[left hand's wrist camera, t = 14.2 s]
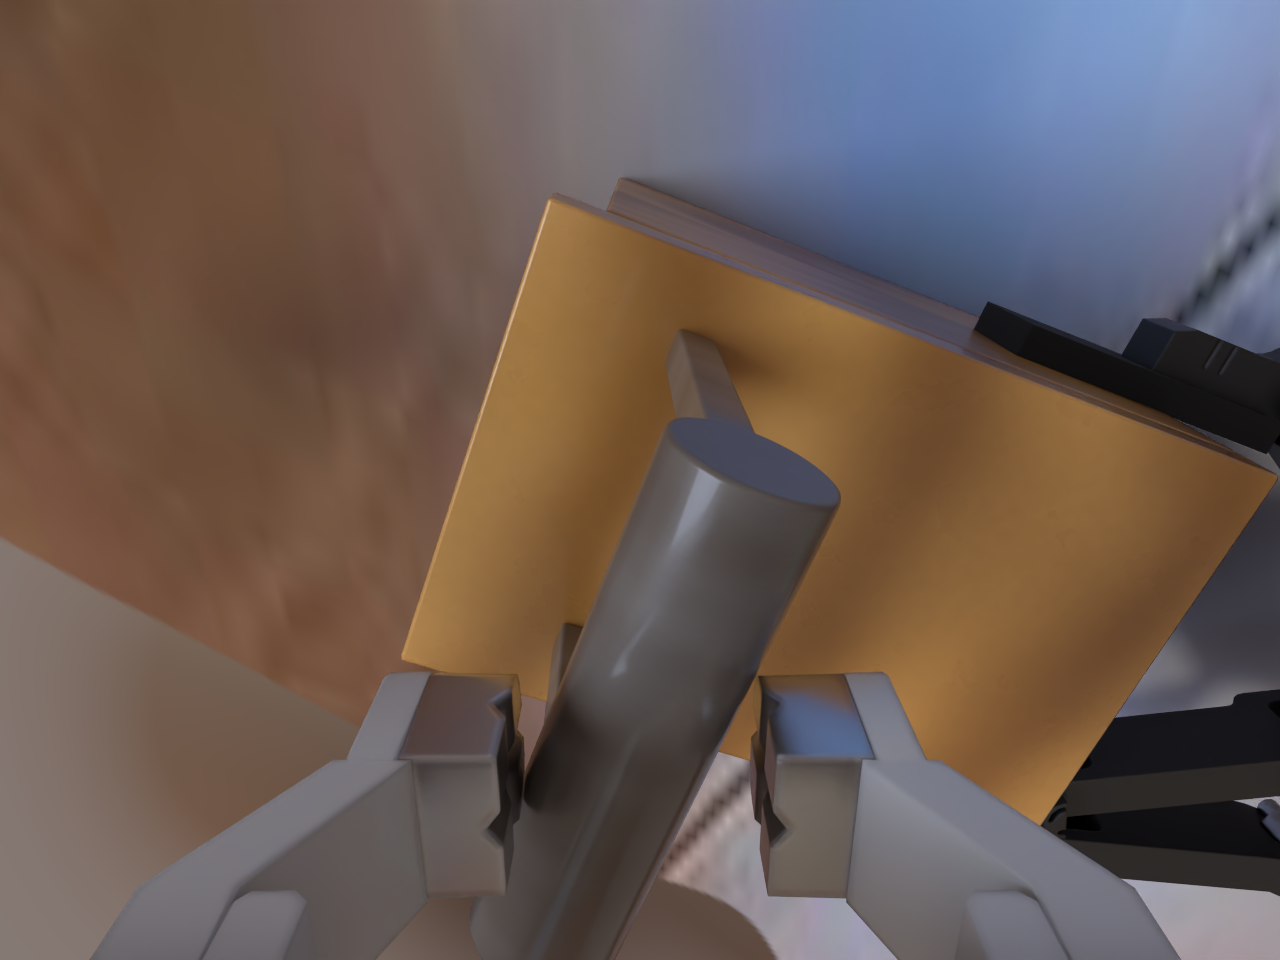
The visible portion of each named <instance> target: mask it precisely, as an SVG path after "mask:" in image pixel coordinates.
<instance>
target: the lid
mask: <svg viewBox="0 0 1280 960" xmlns="http://www.w3.org/2000/svg"><path fill="white" fill-rule="evenodd" d="M1277 480H1278V476H1277V475H1276V474H1275V473H1273V472H1271V471H1269V470H1267V469H1265V468H1264V467H1262V466H1260V465H1258V464H1256V463H1254V462H1253V461H1251V460H1249V459H1247V458H1245V457H1243V456H1241V455H1240V454H1238V453H1235V452H1233V451H1230V450H1227V449H1225V448H1222V447H1219V446H1217V445H1214V444H1212V443H1209V442H1206V441H1204V440H1201V439H1199V438H1196V437H1193V436H1191V435H1188V434H1186V433H1183V432H1180V431H1178V430H1175V429H1173V428H1170V427H1167V426H1165V425H1162V424H1160V423H1157V422H1154V421H1152V420H1149V419H1146V418H1144V417H1141V416H1139V415H1136V414H1133V413H1131V412H1128V411H1126V410H1123V409H1120V408H1118V407H1115V406H1113V405H1110V404H1107V403H1105V402H1102V401H1100V400H1097V399H1094V398H1092V397H1089V396H1087V395H1084V394H1081V393H1079V392H1076V391H1073V390H1071V389H1068V388H1066V387H1063V386H1060V385H1058V384H1055V383H1053V382H1050V381H1047V380H1045V379H1042V378H1040V377H1037V376H1034V375H1032V374H1029V373H1027V372H1024V371H1021V370H1019V369H1016V368H1014V367H1011V366H1008V365H1006V364H1003V363H1000V362H998V361H995V360H993V359H990V358H987V357H985V356H982V355H980V354H977V353H974V352H972V351H969V350H967V349H964V348H961V347H959V346H956V345H954V344H951V343H948V342H946V341H943V340H940V339H938V338H935V337H933V336H930V335H927V334H925V333H922V332H920V331H917V330H914V329H912V328H909V327H907V326H904V325H901V324H899V323H896V322H894V321H891V320H888V319H886V318H883V317H881V316H878V315H875V314H873V313H870V312H867V311H865V310H862V309H860V308H857V307H854V306H852V305H849V304H847V303H844V302H841V301H839V300H836V299H834V298H831V297H828V296H826V295H823V294H821V293H818V292H815V291H813V290H810V289H808V288H805V287H802V286H800V285H797V284H794V283H792V282H789V281H787V280H784V279H781V278H779V277H776V276H774V275H771V274H768V273H766V272H763V271H761V270H758V269H755V268H753V267H750V266H748V265H745V264H742V263H740V262H737V261H735V260H732V259H729V258H727V257H724V256H721V255H719V254H716V253H714V252H711V251H708V250H706V249H703V248H701V247H698V246H695V245H693V244H690V243H688V242H685V241H682V240H680V239H677V238H675V237H672V236H669V235H667V234H664V233H661V232H659V231H656V230H654V229H651V228H648V227H646V226H643V225H641V224H638V223H635V222H633V221H630V220H628V219H625V218H622V217H620V216H617V215H615V214H612V213H609V212H607V211H604V210H602V209H599V208H596V207H594V206H591V205H588V204H586V203H583V202H581V201H578V200H575V199H573V198H570V197H568V196H565V195H562V194H560V193H553V194H552V195H551V197H550V198H549V199H548V201H547V203H546V206H545V209H544V212H543V215H542V219H541V222H540V225H539V228H538V231H537V234H536V237H535V240H534V243H533V247H532V250H531V253H530V256H529V259H528V262H527V265H526V268H525V272H524V275H523V278H522V281H521V284H520V287H519V290H518V293H517V296H516V300H515V303H514V306H513V309H512V312H511V315H510V318H509V321H508V325H507V328H506V331H505V334H504V337H503V340H502V343H501V346H500V349H499V353H498V356H497V359H496V362H495V365H494V368H493V371H492V374H491V377H490V381H489V384H488V387H487V390H486V393H485V396H484V399H483V402H482V406H481V409H480V412H479V415H478V418H477V421H476V424H475V427H474V430H473V434H472V437H471V440H470V443H469V446H468V449H467V452H466V455H465V459H464V462H463V465H462V468H461V471H460V474H459V477H458V480H457V483H456V487H455V490H454V493H453V496H452V499H451V502H450V505H449V508H448V511H447V515H446V518H445V521H444V524H443V527H442V530H441V533H440V536H439V540H438V543H437V546H436V549H435V552H434V555H433V558H432V561H431V564H430V568H429V571H428V574H427V577H426V580H425V583H424V586H423V589H422V593H421V596H420V599H419V602H418V605H417V608H416V611H415V614H414V617H413V621H412V624H411V627H410V630H409V633H408V636H407V639H406V642H405V646H404V649H403V652H402V655H401V657H402V660H404V661H407V662H411V663H414V664H418V665H421V666H425V667H428V668H432V669H435V670H438V671H442V672H445V673H493V674H517V675H518V678H519V681H520V691H521V695H525V696H528V697H532V698H535V699H539V700H542V701H546V710H545V719H544V725H543V728H542V730H541V733H540V735H539V738H538V740H537V743H536V745H535V748H534V750H533V753H532V755H531V758H530V760H529V763H528V765H527V768H526V770H525V773H524V786H523V799H522V806H521V812H520V819H519V820H518V821H517V822H516V823H515V824H514V825H513V836H514V853H513V859H512V864H511V870H510V875H509V881H508V886H507V892H506V896H491V897H474V899H473V902H472V906H471V911H470V927H471V932H472V938H473V941H474V944H475V947H476V949H477V951H478V953H479V955H480V957H481V958H482V960H615V958H616V956H617V954H618V952H619V950H620V948H621V946H622V944H623V942H624V940H625V938H626V936H627V934H628V932H629V930H630V928H631V926H632V924H633V922H634V920H635V918H636V916H637V914H638V912H639V910H640V908H641V906H642V904H643V902H644V900H645V898H646V896H647V894H648V892H649V890H650V888H651V886H652V884H653V882H654V880H655V878H656V876H657V874H658V872H659V870H660V868H661V866H662V864H663V862H664V860H665V858H666V856H667V854H668V852H669V850H670V848H671V846H672V844H673V842H674V840H675V838H676V835H677V833H678V831H679V829H680V827H681V825H682V823H683V821H684V819H685V817H686V815H687V813H688V811H689V809H690V807H691V805H692V803H693V801H694V799H695V797H696V795H697V793H698V791H699V789H700V787H701V785H702V783H703V781H704V779H705V777H706V775H707V773H708V771H709V769H710V767H711V765H712V763H713V761H714V759H715V757H716V755H717V753H718V752H722V753H725V754H729V755H732V756H736V757H739V758H742V759H746V760H749V761H750V748H751V736H752V735H753V734H754V733H755V732H756V731H757V726H756V721H755V715H754V710H753V693H754V683H755V677H756V675H795V674H841V673H854V672H882V671H883V672H884V673H885V674H887V675H888V676H889V678H890V680H891V682H892V684H893V687H894V689H895V691H896V693H897V695H898V697H899V700H900V702H901V704H902V706H903V708H904V710H905V713H906V715H907V717H908V719H909V721H910V723H911V726H912V728H913V730H914V732H915V734H916V736H917V739H918V741H919V743H920V745H921V747H922V749H923V752H924V754H925V756H926V758H927V760H941V761H942V762H944V763H945V764H947V765H948V766H950V767H951V768H953V769H954V770H956V771H957V772H959V773H960V774H962V775H963V776H965V777H967V778H968V779H970V780H971V781H973V782H974V783H976V784H977V785H979V786H980V787H982V788H983V789H985V790H986V791H988V792H989V793H991V794H992V795H994V796H995V797H997V798H998V799H1000V800H1002V801H1003V802H1005V803H1006V804H1008V805H1009V806H1011V807H1012V808H1014V809H1015V810H1017V811H1018V812H1020V813H1021V814H1023V815H1024V816H1026V817H1027V818H1029V819H1030V820H1032V821H1033V822H1035V823H1037V824H1038V825H1040V826H1041V824H1042V823H1043V821H1044V820H1045V818H1046V817H1047V816H1048V814H1049V813H1050V811H1051V810H1052V808H1053V807H1054V805H1055V804H1056V802H1057V801H1058V800H1059V798H1060V797H1061V795H1062V794H1063V792H1064V791H1065V789H1066V788H1067V786H1068V785H1069V783H1070V782H1071V781H1072V779H1073V778H1074V776H1075V775H1076V773H1077V772H1078V770H1079V769H1080V767H1081V766H1082V764H1083V763H1084V762H1085V760H1086V759H1087V757H1088V756H1089V754H1090V753H1091V751H1092V750H1093V748H1094V747H1095V746H1096V744H1097V743H1098V741H1099V740H1100V738H1101V737H1102V735H1103V734H1104V732H1105V731H1106V729H1107V728H1108V727H1109V725H1110V724H1111V722H1112V721H1113V719H1114V718H1115V716H1116V715H1117V713H1118V712H1119V711H1120V709H1121V708H1122V706H1123V705H1124V703H1125V702H1126V700H1127V699H1128V697H1129V696H1130V694H1131V693H1132V692H1133V690H1134V689H1135V687H1136V686H1137V684H1138V683H1139V681H1140V680H1141V678H1142V677H1143V676H1144V674H1145V673H1146V671H1147V670H1148V668H1149V667H1150V665H1151V664H1152V662H1153V661H1154V659H1155V658H1156V657H1157V655H1158V654H1159V652H1160V651H1161V649H1162V648H1163V646H1164V645H1165V643H1166V642H1167V641H1168V639H1169V638H1170V636H1171V635H1172V633H1173V632H1174V630H1175V629H1176V627H1177V626H1178V624H1179V623H1180V622H1181V620H1182V619H1183V617H1184V616H1185V614H1186V613H1187V611H1188V610H1189V608H1190V607H1191V606H1192V604H1193V603H1194V601H1195V600H1196V598H1197V597H1198V595H1199V594H1200V592H1201V591H1202V589H1203V588H1204V587H1205V585H1206V584H1207V582H1208V581H1209V579H1210V578H1211V576H1212V575H1213V573H1214V572H1215V571H1216V569H1217V568H1218V566H1219V565H1220V563H1221V562H1222V560H1223V559H1224V557H1225V556H1226V554H1227V553H1228V552H1229V550H1230V549H1231V547H1232V546H1233V544H1234V543H1235V541H1236V540H1237V538H1238V537H1239V535H1240V534H1241V533H1242V531H1243V530H1244V528H1245V527H1246V525H1247V524H1248V522H1249V521H1250V519H1251V518H1252V517H1253V515H1254V514H1255V512H1256V511H1257V509H1258V508H1259V506H1260V505H1261V503H1262V502H1263V500H1264V499H1265V498H1266V496H1267V495H1268V493H1269V492H1270V490H1271V489H1272V487H1273V486H1274V484H1275V483H1276V482H1277Z"/></svg>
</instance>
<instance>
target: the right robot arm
mask: <svg viewBox="0 0 1280 960" xmlns="http://www.w3.org/2000/svg"><path fill="white" fill-rule="evenodd" d="M974 330H976V331H977V332H979V333H980V334H982V335H984V336H985V337H987V338H989V339H990V340H992V341H994V342H995V343H997V344H998V345H1000V346H1002V347H1003V348H1005V349H1007V350H1008V351H1010V352H1012V353H1013V354H1015V355H1016V356H1019V357H1022V358H1024V359H1027V360H1029V361H1032V362H1034V363H1037V364H1040V365H1042V366H1045V367H1047V368H1050V369H1052V370H1055V371H1058V372H1060V373H1063V374H1065V375H1068V376H1070V377H1073V378H1076V379H1078V380H1081V381H1083V382H1086V383H1088V384H1091V385H1094V386H1096V387H1099V388H1101V389H1104V390H1106V391H1109V392H1112V393H1114V394H1117V395H1119V396H1122V397H1124V398H1127V399H1130V400H1132V401H1135V402H1137V403H1140V404H1142V405H1145V406H1148V407H1150V408H1153V409H1155V410H1158V411H1160V412H1163V413H1165V414H1167V415H1169V416H1171V417H1173V418H1175V419H1178V420H1180V421H1183V422H1186V423H1188V424H1191V425H1193V426H1196V427H1198V428H1201V429H1203V430H1206V431H1209V432H1211V433H1214V434H1216V435H1219V436H1221V437H1224V438H1227V439H1229V440H1232V441H1234V442H1237V443H1239V444H1242V445H1244V446H1247V447H1250V448H1252V449H1255V450H1257V451H1260V452H1262V453H1265V454H1267V452H1269V454H1270V455H1271V457H1272V458H1273V460H1274V461H1275V463H1276V464H1277V466H1278V467H1279V469H1280V348H1278V349H1276V350H1274V351H1272V352H1268V353H1263V354H1255V353H1253V352H1250V351H1248V350H1245V349H1243V348H1240V347H1238V346H1235V345H1233V344H1231V343H1228V342H1226V341H1223V340H1221V339H1218V338H1216V337H1213V336H1211V335H1208V334H1206V333H1204V332H1201V331H1199V330H1196V329H1193V328H1190V327H1188V326H1185V325H1182V324H1180V323H1177V322H1174V321H1171V320H1169V319H1166V318H1156V319H1142V321H1141V323H1140V324H1139V326H1138V328H1137V330H1136V331H1135V333H1134V335H1133V336H1132V338H1131V340H1130V342H1129V343H1128V345H1127V347H1126V348H1125V350H1124V352H1123V353H1122V355H1121V354H1119V353H1116V352H1114V351H1111V350H1109V349H1106V348H1104V347H1101V346H1099V345H1096V344H1094V343H1091V342H1089V341H1086V340H1084V339H1081V338H1078V337H1076V336H1073V335H1071V334H1068V333H1066V332H1063V331H1061V330H1058V329H1056V328H1053V327H1051V326H1048V325H1046V324H1043V323H1041V322H1038V321H1036V320H1033V319H1031V318H1028V317H1026V316H1023V315H1021V314H1018V313H1016V312H1013V311H1011V310H1008V309H1006V308H1003V307H1001V306H998V305H995V304H993V303H990V302H987V304H986V306H985V308H984V310H983V312H982V314H981V316H980V318H979V320H978V322H977V324H976V326H975V328H974ZM1273 796H1280V689H1279V690H1269V691H1259V692H1250V693H1242V694H1238V695H1236V696H1235V697H1234V700H1233V704H1232V705H1230V706H1224V707H1214V708H1204V709H1195V710H1185V711H1175V712H1166V713H1156V714H1146V715H1137V716H1127V717H1117V718H1114V719H1113V721H1112V722H1111V724H1110V725H1109V727H1108V728H1107V729H1106V731H1105V732H1104V734H1103V735H1102V737H1101V738H1100V740H1099V741H1098V743H1097V744H1096V746H1095V747H1094V748H1093V750H1092V751H1091V753H1090V754H1089V756H1088V757H1087V759H1086V760H1085V762H1084V763H1083V764H1082V766H1081V767H1080V769H1079V770H1078V772H1077V773H1076V775H1075V776H1074V778H1073V779H1072V781H1071V782H1070V783H1069V785H1068V786H1067V788H1066V789H1065V791H1064V792H1063V794H1062V795H1061V797H1060V798H1059V800H1058V801H1057V802H1056V804H1055V805H1054V807H1053V808H1052V810H1051V811H1050V813H1049V814H1048V816H1047V817H1046V818H1045V820H1044V821H1043V823H1042V824H1041V827H1043V828H1044V829H1046V830H1047V831H1049V832H1050V833H1052V834H1053V835H1055V836H1056V837H1058V838H1059V839H1061V840H1062V841H1064V842H1065V843H1067V844H1068V845H1070V846H1072V847H1073V848H1075V849H1076V850H1078V851H1079V852H1081V853H1082V854H1084V855H1085V856H1087V857H1088V858H1090V859H1091V860H1093V861H1094V862H1096V863H1097V864H1099V865H1100V866H1102V867H1104V868H1105V869H1107V870H1108V871H1110V872H1111V873H1113V874H1114V875H1116V876H1117V877H1119V878H1121V879H1132V880H1143V881H1155V882H1166V883H1177V884H1188V885H1200V886H1211V887H1222V888H1234V889H1245V890H1256V891H1268V892H1271V893H1274V894H1276V895H1278V896H1280V805H1279V804H1278V803H1277V802H1276V801H1274V800H1272V799H1266V800H1263V801H1261V802H1260V803H1259V804H1258V806H1257V808H1255V807H1252V806H1250V805H1247V804H1244V803H1241V802H1237V801H1233V800H1243V799H1253V798H1263V797H1273Z"/></svg>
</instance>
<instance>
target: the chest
mask: <svg viewBox="0 0 1280 960" xmlns="http://www.w3.org/2000/svg"><path fill="white" fill-rule="evenodd" d="M607 212H609V213H612V214H615V215H617V216H620V217H622V218H625V219H628V220H630V221H633V222H635V223H638V224H641V225H643V226H646V227H648V228H651V229H654V230H656V231H659V232H661V233H664V234H667V235H669V236H672V237H675V238H677V239H680V240H682V241H685V242H688V243H690V244H693V245H695V246H698V247H701V248H703V249H706V250H708V251H711V252H714V253H716V254H719V255H721V256H724V257H727V258H729V259H732V260H735V261H737V262H740V263H742V264H745V265H748V266H750V267H753V268H755V269H758V270H761V271H763V272H766V273H768V274H771V275H774V276H776V277H779V278H781V279H784V280H787V281H789V282H792V283H794V284H797V285H800V286H802V287H805V288H808V289H810V290H813V291H815V292H818V293H821V294H823V295H826V296H828V297H831V298H834V299H836V300H839V301H841V302H844V303H847V304H849V305H852V306H854V307H857V308H860V309H862V310H865V311H867V312H870V313H873V314H875V315H878V316H881V317H883V318H886V319H888V320H891V321H894V322H896V323H899V324H901V325H904V326H907V327H909V328H912V329H914V330H917V331H920V332H922V333H925V334H927V335H930V336H933V337H935V338H938V339H940V340H943V341H946V342H948V343H951V344H954V345H956V346H959V347H961V348H964V349H967V350H969V351H972V352H974V353H977V354H980V355H982V356H985V357H987V358H990V359H993V360H995V361H998V362H1000V363H1003V364H1006V365H1008V366H1011V367H1014V368H1016V369H1019V370H1021V371H1024V372H1027V373H1029V374H1032V375H1034V376H1037V377H1040V378H1042V379H1045V380H1047V381H1050V382H1053V383H1055V384H1058V385H1060V386H1063V387H1066V388H1068V389H1071V390H1073V391H1076V392H1079V393H1081V394H1084V395H1087V396H1089V397H1092V398H1094V399H1097V400H1100V401H1102V402H1105V403H1107V404H1110V405H1113V406H1115V407H1118V408H1120V409H1123V410H1126V411H1128V412H1131V413H1133V414H1136V415H1139V416H1141V417H1144V418H1146V419H1149V420H1152V421H1154V422H1157V423H1160V424H1162V425H1165V426H1167V427H1170V428H1173V429H1175V430H1178V431H1180V432H1183V433H1186V434H1188V435H1191V436H1193V437H1196V438H1199V439H1201V440H1204V441H1206V442H1209V443H1212V444H1214V445H1217V446H1219V447H1222V448H1225V449H1227V450H1230V451H1232V450H1231V449H1229V448H1227V447H1225V446H1223V445H1222V444H1220V443H1218V442H1216V441H1214V440H1212V439H1211V438H1209V437H1207V436H1205V435H1203V434H1202V433H1200V432H1198V431H1196V430H1194V429H1192V428H1191V427H1189V426H1187V425H1185V424H1183V423H1182V422H1180V421H1178V420H1176V419H1174V418H1172V417H1171V416H1169V415H1167V414H1165V413H1163V412H1160V411H1158V410H1155V409H1153V408H1150V407H1148V406H1145V405H1142V404H1140V403H1137V402H1135V401H1132V400H1130V399H1127V398H1124V397H1122V396H1119V395H1117V394H1114V393H1112V392H1109V391H1106V390H1104V389H1101V388H1099V387H1096V386H1094V385H1091V384H1088V383H1086V382H1083V381H1081V380H1078V379H1076V378H1073V377H1070V376H1068V375H1065V374H1063V373H1060V372H1058V371H1055V370H1052V369H1050V368H1047V367H1045V366H1042V365H1040V364H1037V363H1034V362H1032V361H1029V360H1027V359H1024V358H1022V357H1019V356H1016V355H1015V354H1013V353H1012V352H1010V351H1008V350H1007V349H1005V348H1003V347H1002V346H1000V345H998V344H997V343H995V342H994V341H992V340H990V339H989V338H987V337H985V336H984V335H982V334H980V333H979V332H977V331H976V330H974V328H975V326H976V324H977V322H978V320H979V317H977V316H974V315H972V314H969V313H967V312H964V311H962V310H959V309H956V308H954V307H951V306H949V305H946V304H944V303H941V302H939V301H936V300H934V299H931V298H928V297H926V296H923V295H921V294H918V293H916V292H913V291H911V290H908V289H906V288H903V287H900V286H898V285H895V284H893V283H890V282H888V281H885V280H883V279H880V278H878V277H875V276H872V275H870V274H867V273H865V272H862V271H860V270H857V269H855V268H852V267H850V266H847V265H844V264H842V263H839V262H837V261H834V260H832V259H829V258H827V257H824V256H822V255H819V254H816V253H814V252H811V251H809V250H806V249H804V248H801V247H799V246H796V245H794V244H791V243H788V242H786V241H783V240H781V239H778V238H776V237H773V236H771V235H768V234H766V233H763V232H760V231H758V230H755V229H753V228H750V227H748V226H745V225H743V224H740V223H738V222H735V221H732V220H730V219H727V218H725V217H722V216H720V215H717V214H715V213H712V212H710V211H707V210H704V209H702V208H699V207H697V206H694V205H692V204H689V203H687V202H684V201H682V200H679V199H676V198H674V197H671V196H669V195H666V194H664V193H661V192H659V191H656V190H654V189H651V188H648V187H646V186H643V185H641V184H638V183H636V182H633V181H631V180H628V179H626V178H620V179H619V180H618V183H617V185H616V188H615V190H614V193H613V196H612V198H611V201H610V203H609V206H608V208H607Z"/></svg>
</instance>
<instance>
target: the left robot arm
mask: <svg viewBox="0 0 1280 960" xmlns="http://www.w3.org/2000/svg"><path fill="white" fill-rule="evenodd" d="M521 706H522V703H521V691H520V681H519V678H518V675H517V674H493V673H444V672H434V673H431V672H391V673H390V674H388V675H387V676H386V677H385V678H384V679H383V681H382V683H381V685H380V688H379V690H378V692H377V694H376V696H375V698H374V700H373V703H372V705H371V707H370V709H369V711H368V713H367V715H366V718H365V720H364V722H363V724H362V726H361V728H360V730H359V733H358V735H357V737H356V739H355V741H354V743H353V745H352V748H351V750H350V752H349V754H348V756H347V758H346V760H332V761H331V762H329V763H328V764H326V765H325V766H323V767H322V768H320V769H319V770H317V771H316V772H314V773H312V774H311V775H309V776H308V777H306V778H305V779H303V780H302V781H300V782H299V783H297V784H295V785H294V786H292V787H291V788H289V789H288V790H286V791H285V792H283V793H282V794H280V795H279V796H277V797H276V798H274V799H272V800H271V801H269V802H268V803H266V804H265V805H263V806H262V807H260V808H258V809H257V810H256V811H254V812H252V813H251V814H249V815H248V816H246V817H245V818H243V819H242V820H240V821H239V822H237V823H235V824H234V825H232V826H231V827H229V828H228V829H226V830H225V831H223V832H222V833H220V834H218V835H217V836H215V837H214V838H212V839H211V840H209V841H208V842H206V843H205V844H203V845H202V846H200V847H199V848H197V849H195V850H194V851H192V852H191V853H189V854H188V855H186V856H185V857H183V858H181V859H180V860H178V861H177V862H175V863H174V864H172V865H171V866H169V867H168V868H166V869H165V870H163V871H161V872H160V873H158V874H157V875H155V876H154V877H152V878H151V879H149V880H148V881H146V882H145V883H143V884H141V885H140V886H138V888H137V889H136V891H135V892H134V894H133V895H132V897H131V898H130V900H129V901H128V903H127V904H126V906H125V907H124V909H123V910H122V912H121V913H120V915H119V916H118V918H117V919H116V921H115V922H114V924H113V925H112V927H111V928H110V930H109V931H108V933H107V934H106V936H105V938H104V939H103V940H102V942H101V943H100V945H99V946H98V948H97V950H96V951H95V952H94V954H93V955H92V957H91V958H90V960H376V959H377V958H378V956H379V955H380V954H381V953H382V952H383V951H384V950H385V949H386V948H387V947H388V945H389V944H390V943H391V942H392V941H393V940H394V939H395V938H396V937H397V936H398V934H399V933H400V932H401V931H402V930H403V929H404V928H405V927H406V926H407V925H408V923H409V922H410V921H411V920H412V919H413V918H414V917H415V916H416V915H417V914H418V912H419V911H420V910H421V909H422V908H423V907H424V906H425V905H426V904H427V898H457V897H491V896H506V892H507V886H508V881H509V875H510V870H511V864H512V859H513V853H514V836H513V825H514V824H515V823H516V822H517V821H518V820H519V819H520V812H521V806H522V799H523V786H524V737H523V736H522V735H521V734H520V732H519V731H518V730H517V727H518V722H519V717H520V711H521ZM753 710H754V715H755V721H756V726H757V731H756V732H755V733H754V734H753V735H752V736H751V748H750V785H751V795H752V804H753V810H754V817H755V820H756V821H757V822H758V823H760V824H761V835H760V853H761V859H762V865H763V870H764V876H765V882H766V888H767V893H768V896H780V897H816V898H847V900H846V902H847V903H848V905H849V906H850V907H851V908H852V909H853V910H854V911H855V912H856V913H857V915H858V916H859V917H860V918H861V919H862V920H863V921H864V922H865V924H866V925H867V926H868V927H869V928H870V929H871V930H872V931H873V932H874V934H875V935H876V936H877V937H878V938H879V939H880V940H881V941H882V942H883V944H884V945H885V946H886V947H887V948H888V949H889V950H890V951H891V952H892V954H893V955H894V956H895V957H896V958H897V959H898V960H1181V959H1180V957H1179V956H1178V954H1177V953H1176V951H1175V950H1174V948H1173V946H1172V945H1171V943H1170V942H1169V940H1168V939H1167V937H1166V936H1165V934H1164V932H1163V931H1162V929H1161V928H1160V926H1159V925H1158V923H1157V922H1156V920H1155V919H1154V917H1153V915H1152V914H1151V912H1150V911H1149V909H1148V908H1147V906H1146V905H1145V903H1144V902H1143V900H1142V898H1141V897H1140V895H1139V894H1138V892H1137V891H1136V889H1135V888H1134V887H1132V886H1131V885H1129V884H1128V883H1126V882H1125V881H1123V880H1122V879H1120V878H1119V877H1117V876H1116V875H1114V874H1113V873H1111V872H1110V871H1108V870H1107V869H1105V868H1104V867H1102V866H1100V865H1099V864H1097V863H1096V862H1094V861H1093V860H1091V859H1090V858H1088V857H1087V856H1085V855H1084V854H1082V853H1081V852H1079V851H1078V850H1076V849H1075V848H1073V847H1072V846H1070V845H1068V844H1067V843H1065V842H1064V841H1062V840H1061V839H1059V838H1058V837H1056V836H1055V835H1053V834H1052V833H1050V832H1049V831H1047V830H1046V829H1044V828H1043V827H1041V826H1040V825H1038V824H1037V823H1035V822H1033V821H1032V820H1030V819H1029V818H1027V817H1026V816H1024V815H1023V814H1021V813H1020V812H1018V811H1017V810H1015V809H1014V808H1012V807H1011V806H1009V805H1008V804H1006V803H1005V802H1003V801H1002V800H1000V799H998V798H997V797H995V796H994V795H992V794H991V793H989V792H988V791H986V790H985V789H983V788H982V787H980V786H979V785H977V784H976V783H974V782H973V781H971V780H970V779H968V778H967V777H965V776H963V775H962V774H960V773H959V772H957V771H956V770H954V769H953V768H951V767H950V766H948V765H947V764H945V763H944V762H942V761H941V760H927V758H926V756H925V754H924V752H923V749H922V747H921V745H920V743H919V741H918V739H917V736H916V734H915V732H914V730H913V728H912V726H911V723H910V721H909V719H908V717H907V715H906V713H905V710H904V708H903V706H902V704H901V702H900V700H899V697H898V695H897V693H896V691H895V689H894V687H893V684H892V682H891V680H890V678H889V676H888V675H887V674H885V673H884V672H883V671H882V672H854V673H841V674H795V675H756V677H755V683H754V693H753Z"/></svg>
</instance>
